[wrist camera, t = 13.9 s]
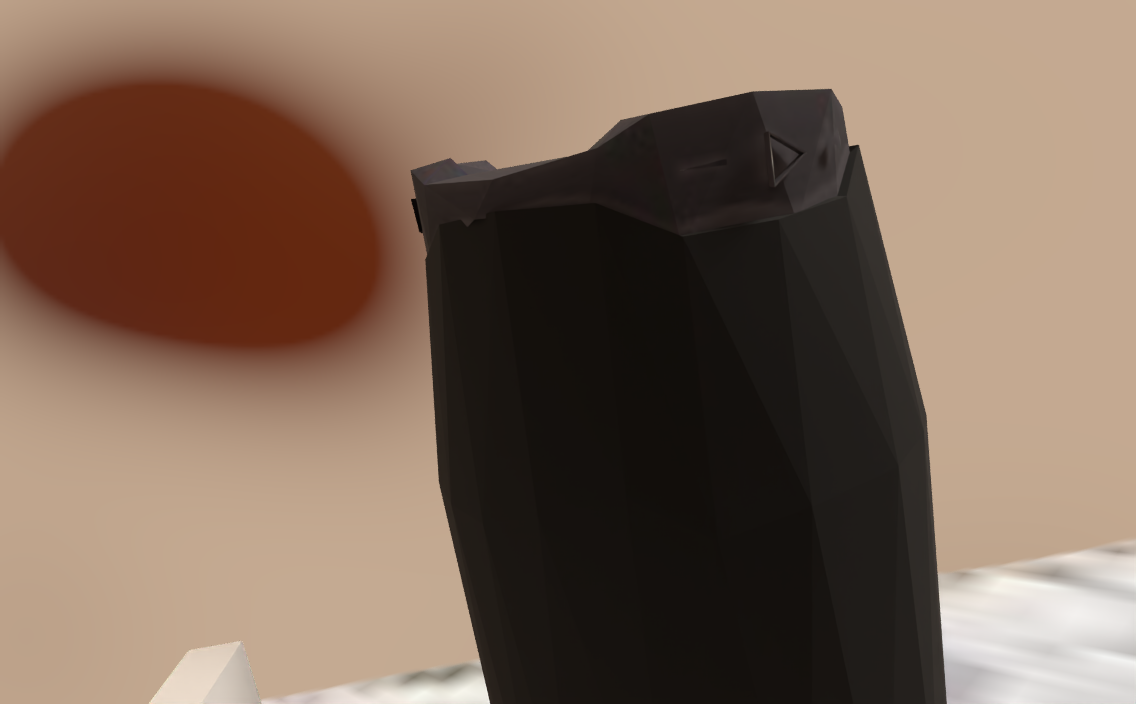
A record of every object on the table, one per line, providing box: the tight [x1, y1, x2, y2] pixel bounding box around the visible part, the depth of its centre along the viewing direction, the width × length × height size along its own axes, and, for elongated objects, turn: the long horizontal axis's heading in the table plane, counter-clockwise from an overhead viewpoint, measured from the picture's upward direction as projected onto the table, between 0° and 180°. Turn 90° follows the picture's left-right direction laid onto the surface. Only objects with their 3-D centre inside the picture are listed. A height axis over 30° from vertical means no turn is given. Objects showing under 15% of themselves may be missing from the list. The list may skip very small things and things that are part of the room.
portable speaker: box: [411, 89, 947, 704], centre depth 16 cm, size 9×9×20 cm
